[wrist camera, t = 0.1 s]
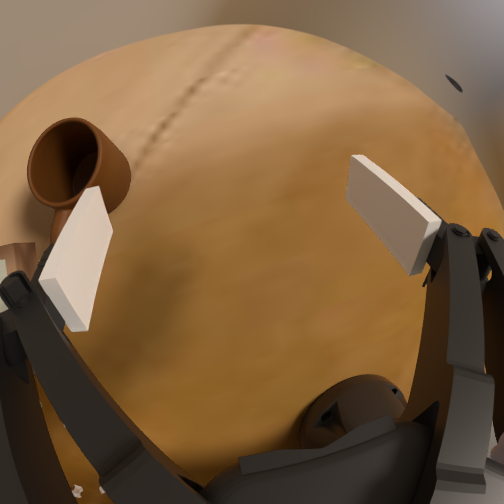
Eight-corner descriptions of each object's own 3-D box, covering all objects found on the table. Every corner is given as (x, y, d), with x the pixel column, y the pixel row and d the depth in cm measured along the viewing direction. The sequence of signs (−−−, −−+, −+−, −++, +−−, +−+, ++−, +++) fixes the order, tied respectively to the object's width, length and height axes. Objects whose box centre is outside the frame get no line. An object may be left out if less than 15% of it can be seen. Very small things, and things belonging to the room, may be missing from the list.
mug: (128, 260, 28) (95, 270, 19) (65, 257, 27) (18, 264, 18) (137, 146, 28) (111, 111, 19) (75, 148, 27) (34, 120, 17)
